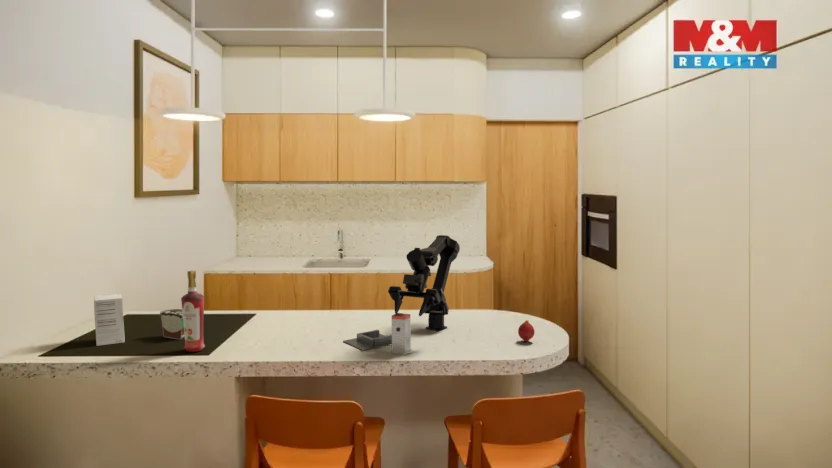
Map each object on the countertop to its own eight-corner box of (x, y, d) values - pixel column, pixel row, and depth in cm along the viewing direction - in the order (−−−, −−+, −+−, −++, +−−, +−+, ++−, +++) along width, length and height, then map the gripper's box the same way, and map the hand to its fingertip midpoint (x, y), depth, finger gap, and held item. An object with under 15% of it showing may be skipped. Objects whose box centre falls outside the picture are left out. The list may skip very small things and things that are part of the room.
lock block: (397, 349, 191) (397, 312, 190) (410, 351, 189) (410, 314, 188) (391, 353, 187) (391, 315, 186) (404, 354, 185) (404, 317, 184)
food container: (196, 336, 210) (195, 310, 209) (184, 340, 204) (182, 313, 203) (173, 332, 215) (172, 307, 214) (160, 336, 209) (159, 310, 208)
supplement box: (96, 339, 205) (93, 295, 204) (123, 336, 210) (121, 293, 208) (96, 346, 197) (93, 300, 195) (125, 342, 201) (122, 297, 200)
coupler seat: (379, 334, 210) (379, 327, 210) (400, 342, 199) (400, 335, 199) (343, 341, 201) (342, 334, 200) (363, 350, 190) (363, 343, 189)
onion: (524, 344, 196) (525, 322, 195) (514, 340, 201) (515, 319, 200) (537, 342, 199) (537, 320, 198) (527, 338, 204) (527, 317, 203)
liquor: (179, 353, 188) (175, 272, 185) (189, 347, 195) (186, 269, 193) (200, 353, 187) (197, 272, 185) (209, 347, 195) (206, 269, 192)
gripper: (389, 264, 199) (376, 299, 190) (437, 266, 192) (425, 303, 183) (399, 282, 207) (386, 316, 198) (445, 285, 200) (434, 321, 190)
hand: (407, 314), depth 192 cm, fingers open, 9 cm apart
